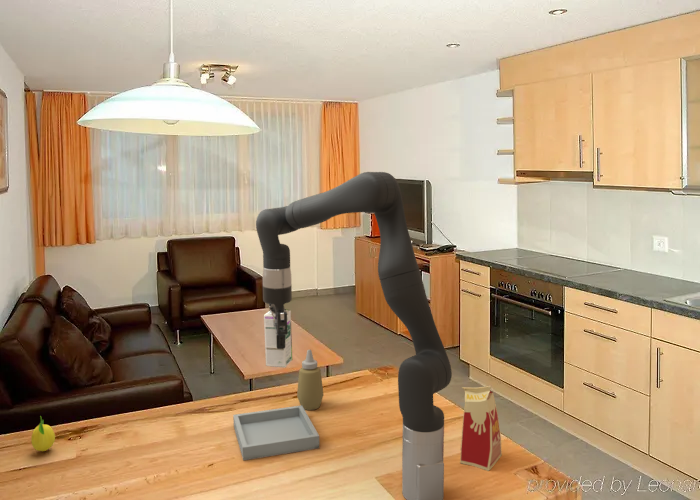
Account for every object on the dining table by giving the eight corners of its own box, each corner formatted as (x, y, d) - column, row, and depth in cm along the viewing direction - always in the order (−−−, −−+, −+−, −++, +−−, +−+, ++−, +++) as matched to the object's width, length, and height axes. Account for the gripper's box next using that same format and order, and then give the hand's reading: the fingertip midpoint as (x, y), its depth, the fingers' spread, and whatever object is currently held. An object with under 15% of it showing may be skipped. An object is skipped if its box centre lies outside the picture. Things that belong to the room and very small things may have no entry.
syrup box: (286, 368, 159) (285, 314, 156) (264, 366, 160) (263, 313, 157) (292, 360, 164) (291, 309, 162) (272, 358, 165) (270, 307, 163)
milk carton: (501, 455, 154) (504, 381, 151) (490, 471, 147) (492, 394, 143) (467, 446, 159) (469, 374, 156) (454, 462, 151) (456, 386, 148)
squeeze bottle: (293, 410, 182) (291, 353, 179) (303, 399, 189) (301, 344, 186) (318, 413, 180) (317, 355, 176) (327, 402, 187) (326, 347, 184)
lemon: (46, 459, 155) (42, 422, 153) (26, 457, 155) (22, 421, 154) (63, 446, 161) (59, 411, 159) (43, 444, 162) (39, 410, 160)
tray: (319, 448, 159) (319, 435, 158) (243, 460, 153) (242, 447, 152) (302, 416, 178) (301, 405, 177) (233, 426, 172) (233, 414, 171)
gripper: (296, 289, 152) (297, 351, 155) (286, 277, 166) (287, 334, 169) (267, 291, 150) (268, 353, 153) (258, 278, 164) (260, 336, 167)
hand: (278, 343), depth 161 cm, fingers closed on syrup box, 7 cm apart
